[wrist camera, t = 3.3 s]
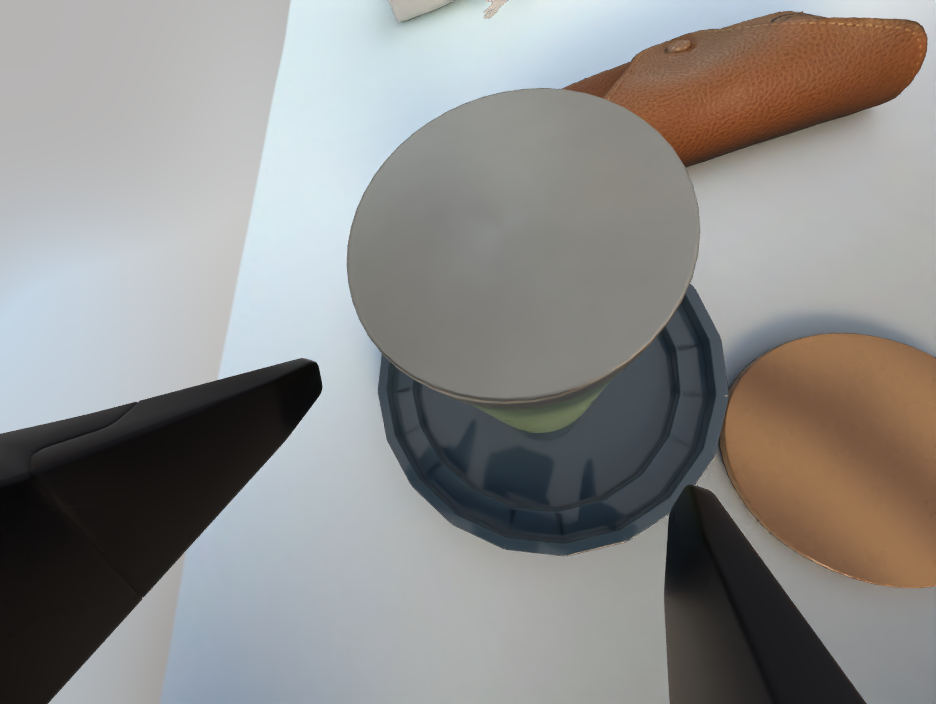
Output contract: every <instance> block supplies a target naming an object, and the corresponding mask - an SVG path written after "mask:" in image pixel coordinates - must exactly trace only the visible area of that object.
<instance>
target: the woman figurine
mask: <svg viewBox="0 0 936 704" xmlns="http://www.w3.org/2000/svg"><path fill="white" fill-rule="evenodd" d="M453 1H455V0H389V3H390V6H391V8H392V10H393V12H394V15H395V17H396V19H397V21H399V22H404V21H406V20H409V19H412V18H414V17H417V16H420V15H422V14H425V13H428V12H430V11H433V10H436V9H438V8H441V7H443V6H445V5H447V4H449V3H451V2H453ZM489 1H491V2H492V4H491V5H490V6H489V8H487V9H486V10H485V11H484V13H486V12H488V13H487V14H486V15H484V18H485V19H486V18H491V17H492V16H494V15H495V13H496V12H497V11H498V10H499V8H500V7H501V6H502V5H504V4H505V3H506V2H507V1H508V0H486V2H489Z"/></svg>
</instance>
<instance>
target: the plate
mask: <svg viewBox="0 0 936 704" xmlns="http://www.w3.org/2000/svg"><path fill="white" fill-rule="evenodd" d="M378 391H379V392H378V395H379V400H380V406H381V411H382V416H383V421H384V427H385V432H386V437H387V441H388V443H389V445H390V447H391V448H392V450H393V452H394V454H395V456H396V458H397V460H398V462H399V463H400V465H401V467H402V469H403V471H404V473H405V475H406V476H407V478H408V480H409V482H410V484H411V485H412V487H413V488H414V489H415V490H416V491H417V492H418V493H419V494H421V495H422V496H423V497H424V498H425V499H426V500H427V501H428V502H429V503H430V504H431V505H432V506H433V507H434V508H435V509H436V510H437V511H438V512H439V513H440V514H441V515H442V516H443V517H444V518H446V519H447V520H448V521H449V522H450V523H451V524H452V525H454V526H456V527H458V528H460V529H462V530H464V531H467V532H469V533H471V534H473V535H475V536H477V537H479V538H481V539H483V540H485V541H488V542H490V543H492V544H494V545H496V546H498V547H500V548H502V549H506V550H513V551H522V552H531V553H539V554H548V555H557V556H565V555H566V556H570V555H574V554H578V553H582V552H587V551H591V550H595V549H599V548H603V547H608V546H612V545H616V544H620V543H625V542H626V541H629V540H631V539H632V538H634V537H635V536H637V535H638V534H640V533H641V532H643V531H644V530H646V529H647V528H649V527H650V526H651V525H653V524H654V523H656V522H657V521H659V520H660V519H662V518H663V517H665V516H666V515H668V514H669V513H670V511H671V509H672V507H673V505H674V504H675V502H676V500H677V499H678V497H679V496H680V494H681V492H682V491H683V489H684V488H685V487H686V486H687V485H695V484H696V482H697V481H698V479H699V478H700V476H701V475H702V474H703V472H704V471H705V469H706V468H707V466H708V465H709V464H710V462H711V461H712V459H713V458H714V455H715V454H716V449H717V445H718V441H719V437H720V433H721V428H722V424H723V420H724V416H725V411H726V407H727V403H728V399H729V397H728V396H729V393H728V386H727V378H726V371H725V363H724V356H723V348H722V341H721V337H720V335H719V333H718V332H717V330H716V328H715V326H714V324H713V322H712V320H711V318H710V316H709V314H708V312H707V310H706V308H705V307H704V305H703V303H702V301H701V299H700V297H699V295H698V293H697V291H696V289H695V288H694V287H693V286H692V285H691V284H689V286H688V289H687V291H686V293H685V296H684V298H683V300H682V302H681V304H680V305H679V307H678V308H677V310H676V312H675V313H674V315H673V316H672V318H671V320H670V321H669V323H668V324H667V325H666V326H665V327H664V329H663V330H662V331H661V332H660V333H659V335H658V336H657V337H656V338H655V339H654V340H653V342H652V343H651V344H650V345H649V346H648V347H647V348H646V349H645V350H644V351H643V353H642V354H641V355H640V356H639V357H638V358H636V359H635V360H634V361H633V362H632V363H631V364H630V365H629V366H628V367H626V368H625V369H624V370H623V371H622V372H621V373H619V374H618V375H616V376H615V377H613V378H612V380H611V381H610V382H609V383H608V384H607V386H606V387H605V388H604V389H603V390H602V392H601V393H600V394H599V395H598V396H597V398H596V399H595V400H594V401H593V402H592V403H591V405H590V406H589V407H588V408H587V409H586V411H585V412H584V413H583V414H582V415H581V416H580V417H579V418H578V419H577V420H576V421H574V422H573V423H571V424H570V425H568V426H566V427H564V428H562V429H559V430H556V431H552V432H547V433H530V432H525V431H521V430H518V429H515V428H513V427H511V426H509V425H507V424H505V423H503V422H502V421H500V420H498V419H496V418H494V417H493V416H491V415H489V414H487V413H485V412H484V411H482V410H480V409H478V408H476V407H475V406H473V405H471V404H467V403H464V402H461V401H458V400H455V399H452V398H449V397H447V396H445V395H443V394H441V393H439V392H437V391H435V390H433V389H431V388H429V387H427V386H425V385H423V384H421V383H419V382H417V381H415V380H414V379H412V378H411V377H409V376H408V375H407V374H405V373H404V372H402V371H401V370H399V369H398V368H397V367H396V366H395V365H394V364H392V363H391V362H390V361H389V360H388V359H387V358H386V357H385V356H384V355H383V354H382V358H381V367H380V376H379V385H378Z"/></svg>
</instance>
